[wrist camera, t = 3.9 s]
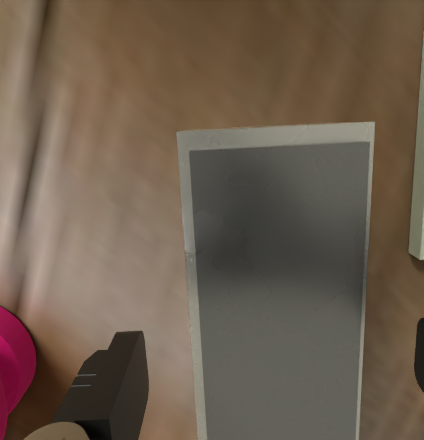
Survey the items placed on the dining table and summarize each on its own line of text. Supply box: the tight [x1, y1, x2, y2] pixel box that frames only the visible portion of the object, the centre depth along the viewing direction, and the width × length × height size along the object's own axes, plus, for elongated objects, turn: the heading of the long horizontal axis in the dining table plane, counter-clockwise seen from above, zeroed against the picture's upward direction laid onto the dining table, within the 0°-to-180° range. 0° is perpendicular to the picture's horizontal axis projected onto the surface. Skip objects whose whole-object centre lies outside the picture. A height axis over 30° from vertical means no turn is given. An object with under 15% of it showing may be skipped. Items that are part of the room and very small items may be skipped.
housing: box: [176, 122, 375, 440], centre depth 15 cm, size 12×6×7 cm, turn 3°
